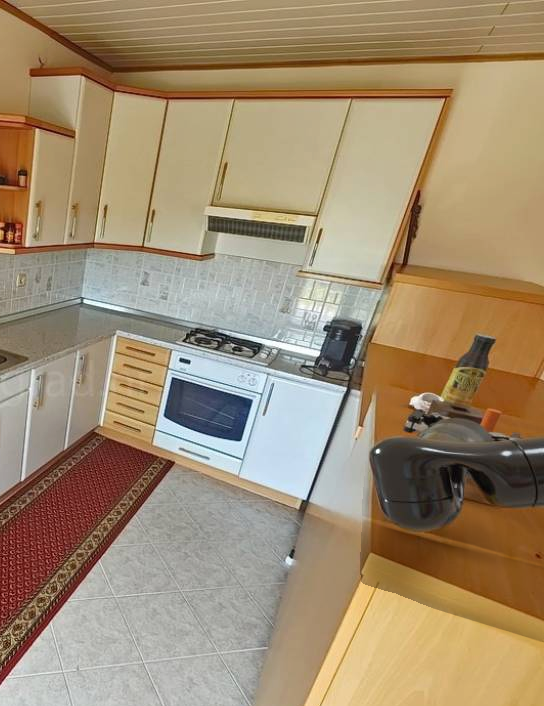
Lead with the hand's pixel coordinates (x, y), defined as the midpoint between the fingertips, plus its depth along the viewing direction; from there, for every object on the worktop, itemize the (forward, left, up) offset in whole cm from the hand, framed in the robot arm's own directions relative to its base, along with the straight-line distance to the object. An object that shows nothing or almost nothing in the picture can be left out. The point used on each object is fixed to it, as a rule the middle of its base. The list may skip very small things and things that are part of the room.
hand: (478, 428), depth 75 cm
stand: (-5, -9, -14) cm, 17 cm away
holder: (-14, -41, -14) cm, 45 cm away
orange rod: (-5, -9, -14) cm, 17 cm away
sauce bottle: (-22, -64, -14) cm, 69 cm away
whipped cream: (-14, -56, -14) cm, 59 cm away
